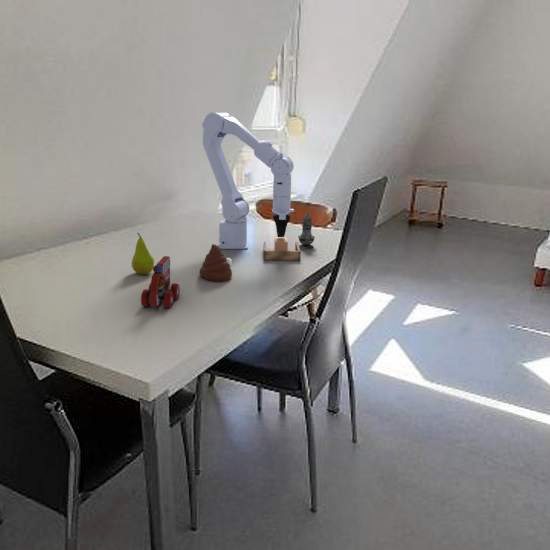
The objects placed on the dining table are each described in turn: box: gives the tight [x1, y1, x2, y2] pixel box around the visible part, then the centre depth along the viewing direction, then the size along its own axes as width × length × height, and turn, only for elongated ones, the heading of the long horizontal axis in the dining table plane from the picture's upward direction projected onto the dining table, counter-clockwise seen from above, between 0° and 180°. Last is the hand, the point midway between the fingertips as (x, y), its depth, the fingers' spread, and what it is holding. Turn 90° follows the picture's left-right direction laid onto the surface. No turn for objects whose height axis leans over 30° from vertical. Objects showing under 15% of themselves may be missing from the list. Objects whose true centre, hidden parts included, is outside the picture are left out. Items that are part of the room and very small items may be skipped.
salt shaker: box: [297, 212, 316, 250], centre depth 167 cm, size 6×6×12 cm
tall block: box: [273, 236, 289, 251], centre depth 161 cm, size 4×4×7 cm
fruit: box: [131, 232, 155, 275], centre depth 136 cm, size 6×6×12 cm
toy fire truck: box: [140, 255, 181, 309], centre depth 116 cm, size 7×12×10 cm, turn 175°
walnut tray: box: [263, 240, 302, 262], centre depth 158 cm, size 11×12×3 cm
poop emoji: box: [199, 243, 233, 283], centre depth 135 cm, size 10×8×9 cm
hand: (280, 236), depth 162 cm, fingers closed
